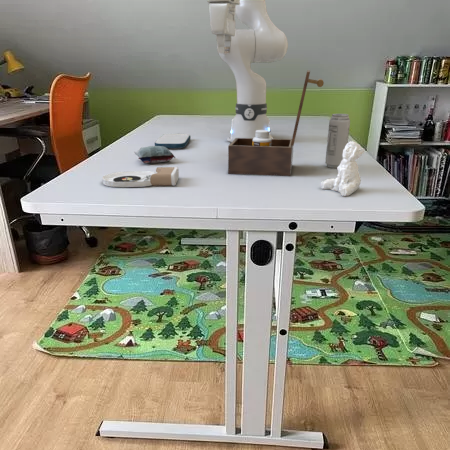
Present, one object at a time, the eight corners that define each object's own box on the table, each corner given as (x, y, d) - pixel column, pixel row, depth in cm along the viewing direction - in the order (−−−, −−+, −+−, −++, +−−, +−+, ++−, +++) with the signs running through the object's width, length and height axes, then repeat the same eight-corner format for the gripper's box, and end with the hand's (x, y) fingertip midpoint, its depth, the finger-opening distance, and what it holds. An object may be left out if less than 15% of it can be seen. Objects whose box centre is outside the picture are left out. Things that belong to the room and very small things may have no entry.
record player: (173, 175, 117) (96, 176, 117) (174, 187, 118) (97, 188, 119) (178, 165, 127) (107, 166, 128) (179, 176, 129) (109, 177, 129)
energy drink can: (347, 168, 138) (353, 115, 131) (328, 168, 137) (333, 116, 131) (341, 164, 143) (347, 113, 136) (322, 164, 143) (327, 113, 136)
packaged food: (135, 160, 149) (133, 144, 147) (170, 158, 152) (170, 142, 150) (139, 166, 142) (137, 149, 139) (176, 163, 145) (175, 147, 143)
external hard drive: (163, 138, 187) (163, 133, 186) (191, 138, 186) (191, 133, 185) (153, 149, 165) (152, 143, 165) (184, 149, 165) (184, 143, 164)
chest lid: (306, 71, 117) (326, 75, 116) (307, 70, 129) (324, 73, 128) (290, 145, 125) (308, 149, 125) (292, 137, 138) (308, 140, 137)
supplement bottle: (249, 167, 135) (250, 131, 130) (255, 163, 139) (256, 129, 135) (267, 169, 133) (268, 132, 128) (272, 165, 138) (274, 130, 133)
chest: (228, 173, 132) (228, 145, 128) (235, 163, 144) (235, 137, 140) (290, 176, 129) (291, 147, 126) (292, 165, 141) (293, 139, 138)
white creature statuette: (318, 188, 117) (322, 140, 112) (343, 183, 121) (348, 137, 116) (344, 197, 110) (350, 145, 104) (370, 192, 114) (377, 142, 108)
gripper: (219, 1, 135) (220, 53, 141) (205, -7, 117) (206, 53, 123) (240, 0, 134) (240, 53, 140) (229, -8, 116) (229, 53, 122)
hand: (224, 53), depth 132 cm, fingers open, 8 cm apart
